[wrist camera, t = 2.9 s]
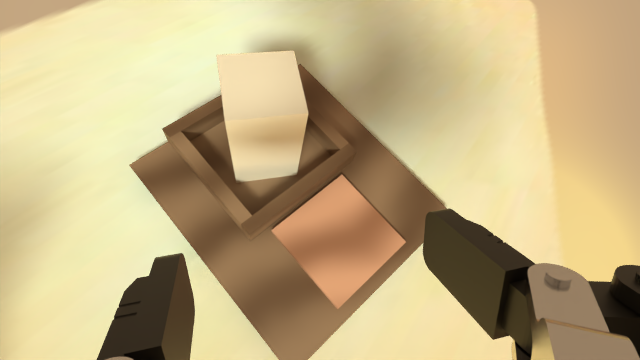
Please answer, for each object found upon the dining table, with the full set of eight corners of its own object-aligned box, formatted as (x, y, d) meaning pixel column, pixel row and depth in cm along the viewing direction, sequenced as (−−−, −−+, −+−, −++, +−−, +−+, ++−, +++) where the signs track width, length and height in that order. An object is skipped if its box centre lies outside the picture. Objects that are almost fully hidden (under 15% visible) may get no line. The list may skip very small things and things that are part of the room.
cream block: (236, 182, 28) (224, 121, 20) (229, 130, 30) (216, 54, 22) (296, 174, 30) (308, 112, 21) (286, 124, 31) (293, 50, 23)
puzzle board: (134, 171, 29) (119, 153, 26) (299, 72, 36) (302, 48, 33) (290, 374, 25) (293, 378, 22) (445, 217, 31) (463, 205, 28)
